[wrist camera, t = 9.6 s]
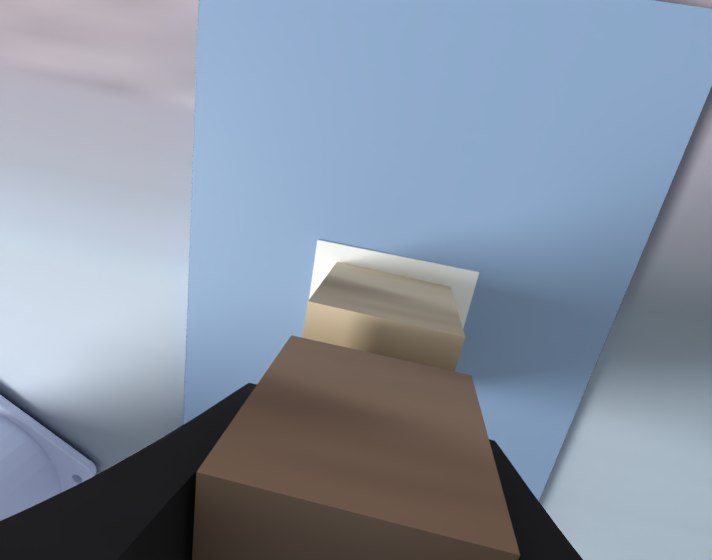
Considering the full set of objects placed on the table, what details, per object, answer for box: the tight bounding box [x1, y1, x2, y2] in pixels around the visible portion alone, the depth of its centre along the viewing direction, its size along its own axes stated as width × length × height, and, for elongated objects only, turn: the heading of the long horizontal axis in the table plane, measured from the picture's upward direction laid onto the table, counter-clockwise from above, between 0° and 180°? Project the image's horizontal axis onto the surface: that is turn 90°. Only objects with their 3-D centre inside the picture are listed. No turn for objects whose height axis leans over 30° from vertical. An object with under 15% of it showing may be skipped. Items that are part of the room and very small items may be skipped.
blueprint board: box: [183, 0, 712, 501], centre depth 14 cm, size 22×15×1 cm
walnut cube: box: [192, 335, 520, 560], centre depth 7 cm, size 4×4×4 cm
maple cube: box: [302, 262, 465, 372], centre depth 12 cm, size 4×4×4 cm
